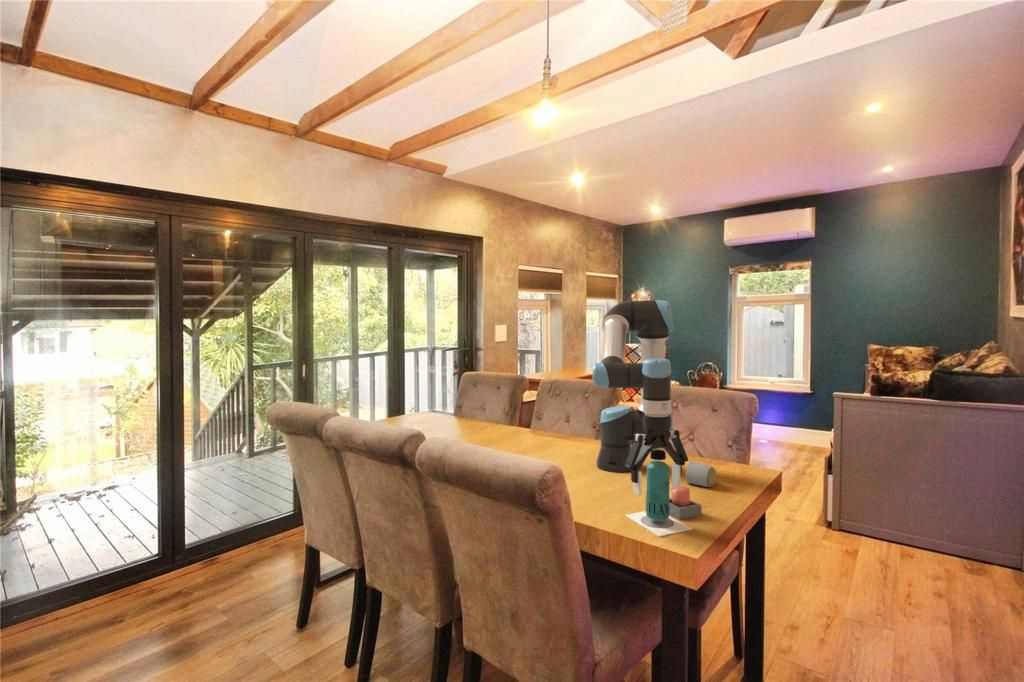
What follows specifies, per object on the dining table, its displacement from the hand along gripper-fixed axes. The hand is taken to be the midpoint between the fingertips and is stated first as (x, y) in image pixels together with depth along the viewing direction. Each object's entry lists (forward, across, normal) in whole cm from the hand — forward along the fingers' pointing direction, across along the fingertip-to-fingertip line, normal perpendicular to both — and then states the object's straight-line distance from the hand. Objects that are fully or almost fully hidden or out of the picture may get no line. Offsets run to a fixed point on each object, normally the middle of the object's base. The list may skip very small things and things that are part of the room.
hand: (657, 490), depth 133 cm
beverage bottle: (+9, 0, 0) cm, 9 cm away
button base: (+9, +11, +3) cm, 15 cm away
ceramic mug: (+9, +35, +20) cm, 41 cm away
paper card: (+9, 0, 0) cm, 9 cm away
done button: (+7, +11, +3) cm, 13 cm away
